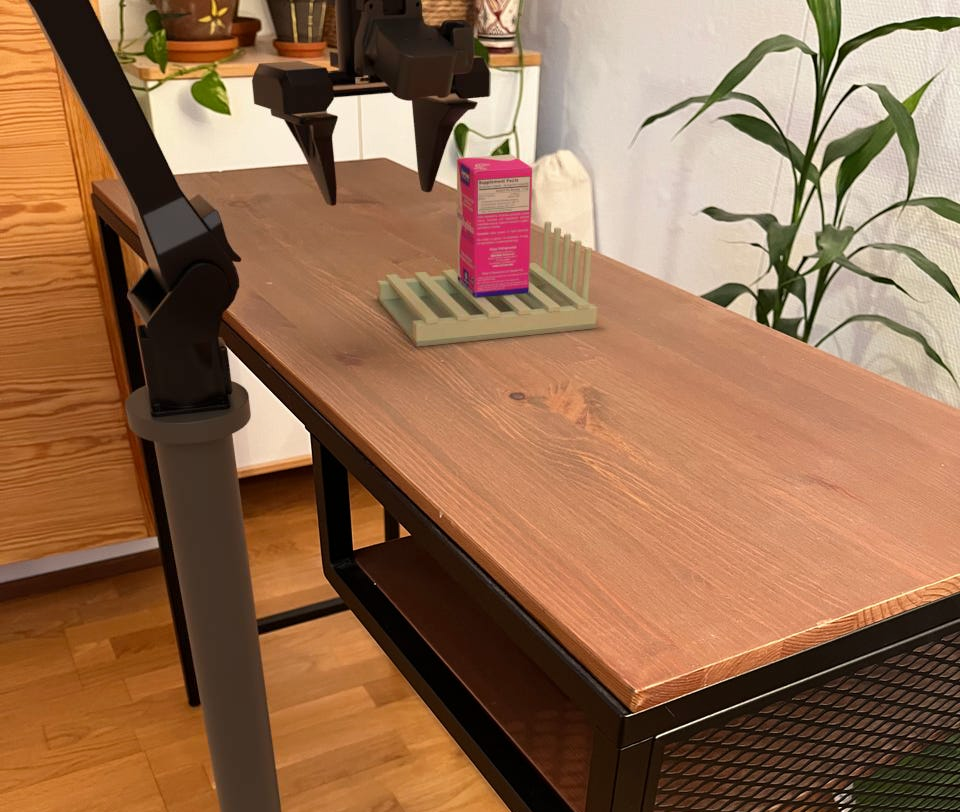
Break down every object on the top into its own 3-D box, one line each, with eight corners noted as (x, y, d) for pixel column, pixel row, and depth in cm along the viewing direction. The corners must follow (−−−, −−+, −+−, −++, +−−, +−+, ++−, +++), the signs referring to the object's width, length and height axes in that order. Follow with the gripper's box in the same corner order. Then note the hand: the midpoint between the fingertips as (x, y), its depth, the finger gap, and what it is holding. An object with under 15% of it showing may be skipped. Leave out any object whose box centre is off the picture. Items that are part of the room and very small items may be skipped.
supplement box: (454, 281, 102) (455, 156, 96) (511, 277, 104) (515, 153, 97) (472, 299, 98) (474, 169, 91) (530, 294, 100) (536, 166, 93)
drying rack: (416, 346, 94) (415, 268, 90) (377, 300, 105) (375, 228, 101) (596, 328, 99) (602, 253, 95) (541, 285, 110) (545, 216, 106)
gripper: (311, -15, 67) (327, 235, 76) (537, -20, 76) (527, 204, 85) (238, -25, 74) (261, 204, 83) (452, -29, 83) (451, 178, 92)
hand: (380, 198), depth 86 cm, fingers open, 9 cm apart
